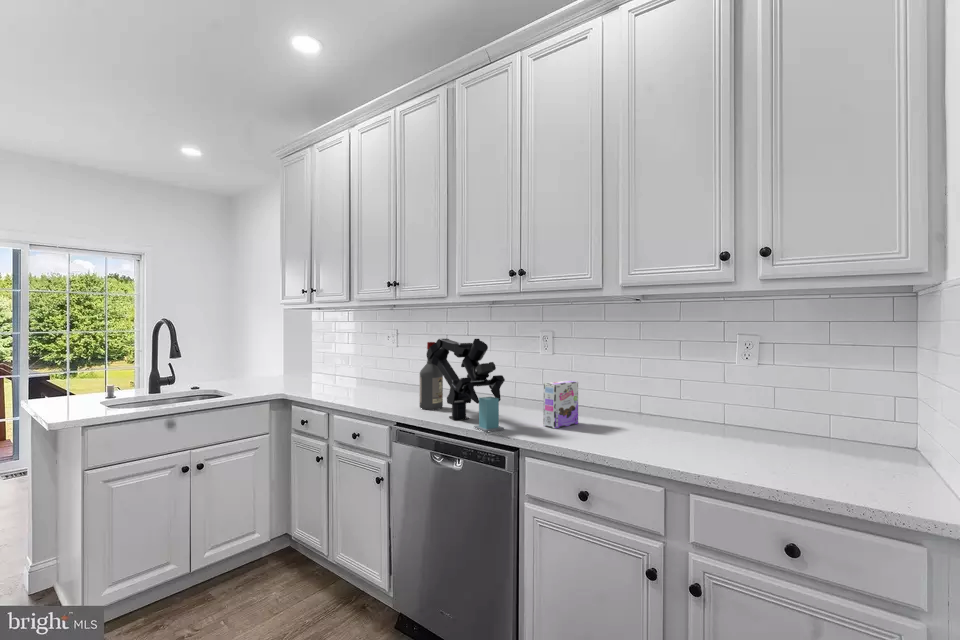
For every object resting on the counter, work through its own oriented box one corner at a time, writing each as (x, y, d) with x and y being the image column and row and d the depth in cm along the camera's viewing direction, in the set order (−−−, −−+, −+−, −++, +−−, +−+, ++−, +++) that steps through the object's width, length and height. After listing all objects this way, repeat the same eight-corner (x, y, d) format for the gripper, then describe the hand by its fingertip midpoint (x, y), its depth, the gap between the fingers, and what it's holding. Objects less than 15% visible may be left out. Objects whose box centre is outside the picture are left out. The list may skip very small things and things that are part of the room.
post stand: (473, 428, 173) (473, 415, 173) (491, 425, 177) (491, 413, 177) (485, 432, 166) (485, 419, 166) (504, 429, 170) (504, 416, 170)
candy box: (554, 429, 172) (554, 384, 172) (542, 426, 176) (542, 382, 176) (578, 424, 180) (578, 381, 180) (567, 421, 185) (566, 379, 185)
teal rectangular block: (478, 426, 172) (479, 397, 172) (490, 424, 175) (490, 396, 175) (486, 429, 168) (486, 399, 168) (498, 427, 171) (498, 398, 171)
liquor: (417, 409, 211) (417, 342, 211) (426, 405, 219) (426, 341, 220) (436, 410, 208) (436, 342, 208) (444, 406, 217) (444, 341, 217)
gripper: (459, 355, 171) (475, 390, 161) (502, 354, 181) (519, 386, 171) (449, 375, 178) (464, 409, 168) (490, 372, 187) (506, 404, 178)
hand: (489, 401), depth 171 cm, fingers open, 9 cm apart
